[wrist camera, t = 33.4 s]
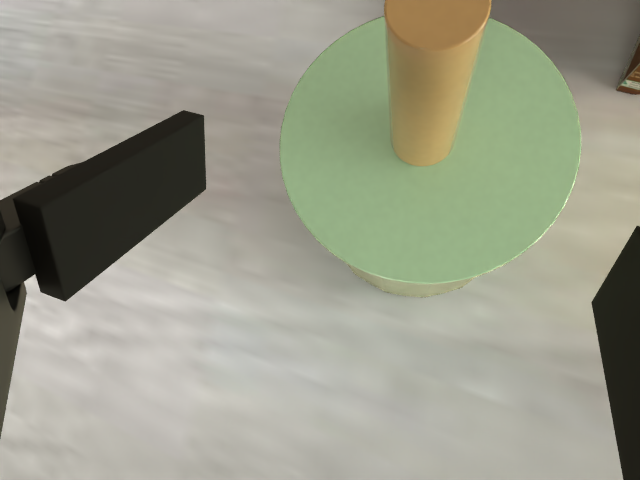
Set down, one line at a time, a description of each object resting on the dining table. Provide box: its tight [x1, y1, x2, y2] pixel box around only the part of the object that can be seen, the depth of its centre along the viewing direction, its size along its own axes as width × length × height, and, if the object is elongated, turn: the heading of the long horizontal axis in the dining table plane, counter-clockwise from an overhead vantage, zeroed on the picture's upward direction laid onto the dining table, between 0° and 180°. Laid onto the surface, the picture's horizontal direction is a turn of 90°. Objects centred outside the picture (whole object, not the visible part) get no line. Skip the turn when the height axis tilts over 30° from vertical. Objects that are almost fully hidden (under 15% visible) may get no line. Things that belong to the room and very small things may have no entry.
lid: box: [280, 0, 581, 285], centre depth 18 cm, size 14×14×10 cm
